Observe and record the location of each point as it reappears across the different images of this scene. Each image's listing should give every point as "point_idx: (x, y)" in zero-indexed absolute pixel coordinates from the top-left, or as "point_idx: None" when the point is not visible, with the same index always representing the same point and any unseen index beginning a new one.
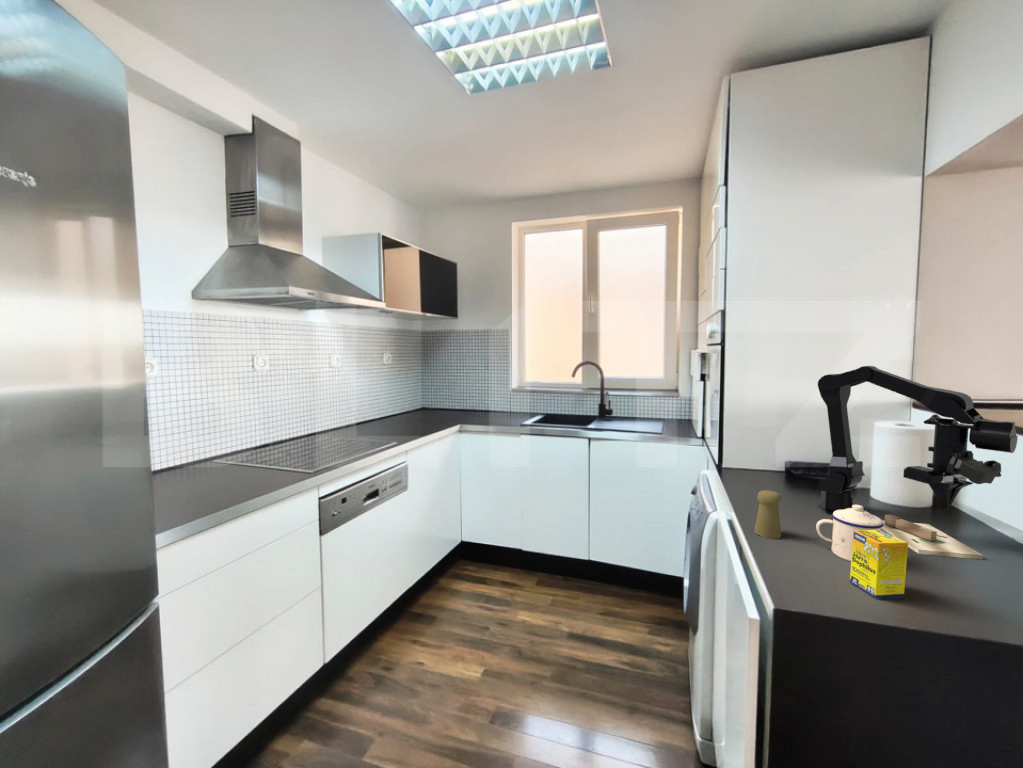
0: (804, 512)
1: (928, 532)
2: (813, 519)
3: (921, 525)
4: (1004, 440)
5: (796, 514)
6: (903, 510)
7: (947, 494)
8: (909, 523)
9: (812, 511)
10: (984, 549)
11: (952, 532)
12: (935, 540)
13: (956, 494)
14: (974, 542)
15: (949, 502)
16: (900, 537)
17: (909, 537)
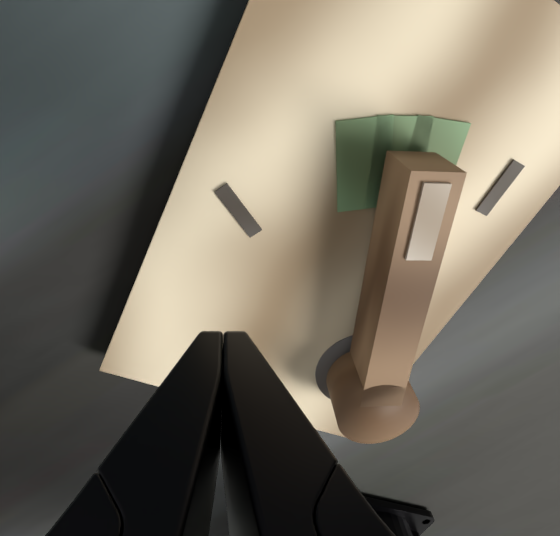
0: (498, 524)
1: (454, 190)
2: (553, 475)
3: (170, 359)
4: None
5: (553, 512)
6: (4, 522)
7: (357, 508)
8: (410, 326)
9: (456, 530)
10: (67, 3)
11: (8, 283)
12: (362, 164)
13: (92, 508)
14: (13, 127)
15: (231, 381)
16: (502, 251)
17: (459, 238)
